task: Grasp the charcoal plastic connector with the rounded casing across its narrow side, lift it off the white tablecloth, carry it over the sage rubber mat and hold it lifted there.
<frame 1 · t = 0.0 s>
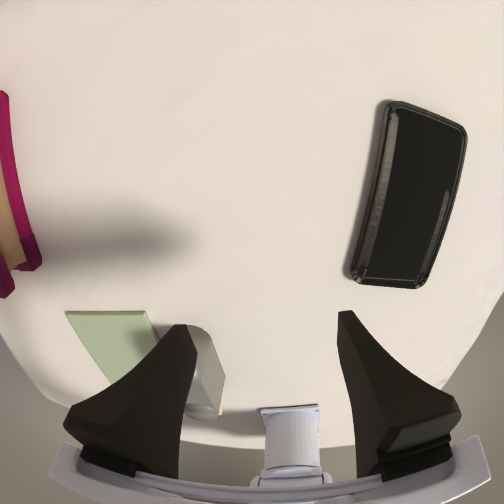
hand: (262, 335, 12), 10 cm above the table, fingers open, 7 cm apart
connector: (200, 358, 28), on the table
sage mat: (129, 360, 30), on the table
phone: (409, 200, 19), on the table
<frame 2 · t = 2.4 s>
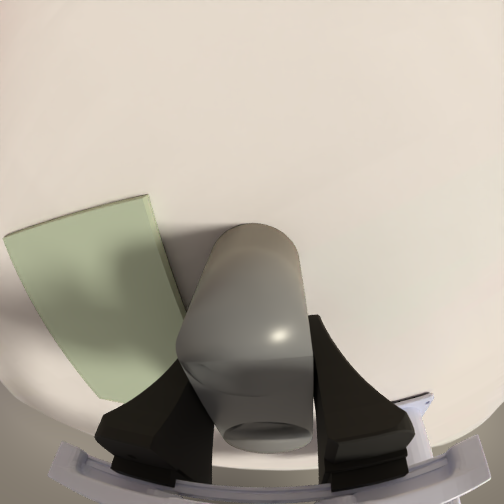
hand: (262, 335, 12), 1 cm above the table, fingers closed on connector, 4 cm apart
connector: (263, 316, 14), on the table, touching gripper
sage mat: (110, 333, 16), on the table
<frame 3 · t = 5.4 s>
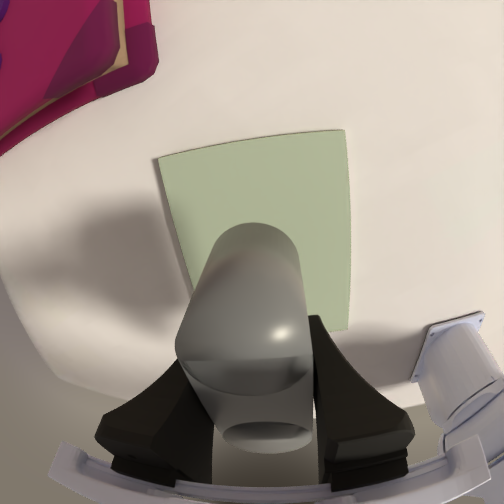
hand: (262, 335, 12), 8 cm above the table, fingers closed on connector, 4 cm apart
connector: (263, 315, 14), point 7 cm above the table, touching gripper
sage mat: (266, 252, 20), on the table
book: (24, 44, 12), on the table
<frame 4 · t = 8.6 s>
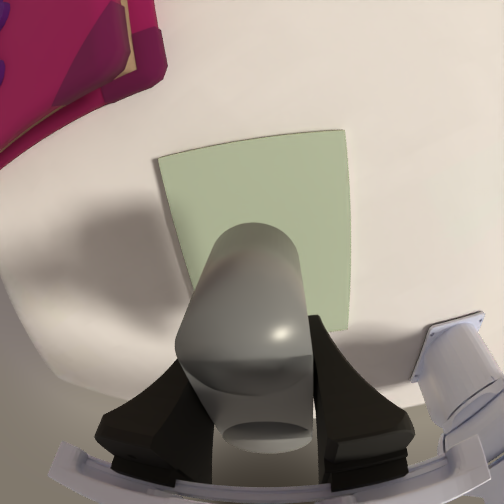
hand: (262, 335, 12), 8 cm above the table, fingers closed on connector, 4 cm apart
connector: (263, 315, 14), point 7 cm above the table, touching gripper
sage mat: (266, 252, 20), on the table
book: (26, 51, 13), on the table
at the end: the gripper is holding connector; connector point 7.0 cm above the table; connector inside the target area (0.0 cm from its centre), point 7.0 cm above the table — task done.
